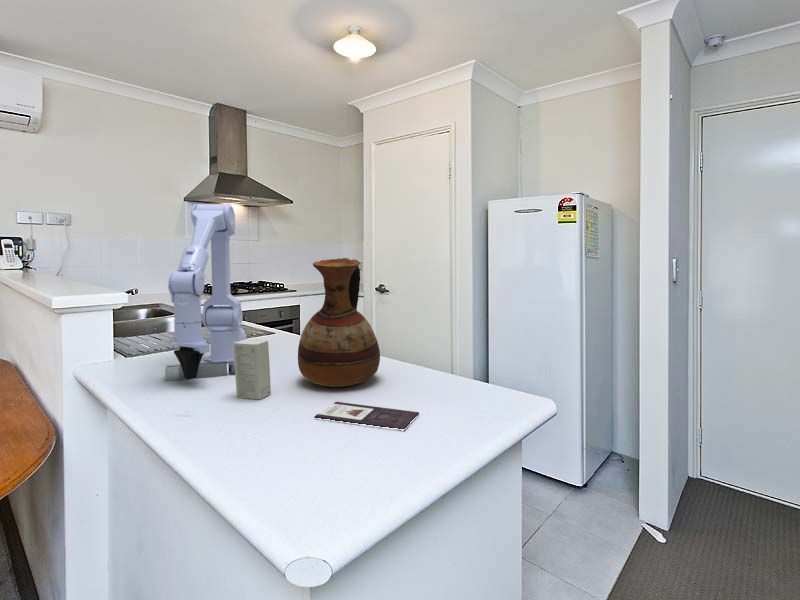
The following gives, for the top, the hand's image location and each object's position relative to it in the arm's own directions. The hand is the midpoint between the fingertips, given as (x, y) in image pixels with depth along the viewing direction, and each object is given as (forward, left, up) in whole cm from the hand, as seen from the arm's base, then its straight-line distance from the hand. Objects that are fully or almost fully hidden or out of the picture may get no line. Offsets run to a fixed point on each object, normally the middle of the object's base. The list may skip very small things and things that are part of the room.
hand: (190, 378), depth 111 cm
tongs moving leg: (-3, -3, -1) cm, 5 cm away
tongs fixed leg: (-6, -3, -1) cm, 7 cm away
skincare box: (-3, +20, -1) cm, 20 cm away
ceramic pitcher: (-23, +27, -1) cm, 35 cm away
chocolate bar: (-8, +48, -2) cm, 49 cm away
